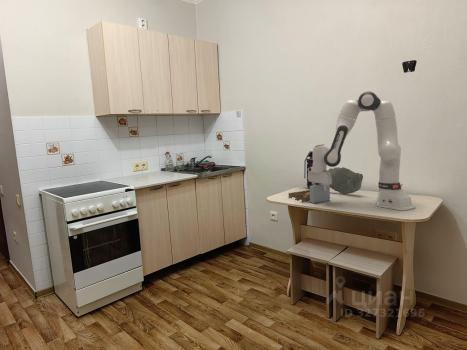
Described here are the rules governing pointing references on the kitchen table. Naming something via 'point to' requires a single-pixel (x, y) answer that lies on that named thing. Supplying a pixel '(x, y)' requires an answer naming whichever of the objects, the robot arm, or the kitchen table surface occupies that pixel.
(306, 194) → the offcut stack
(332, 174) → the rock
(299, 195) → the rack
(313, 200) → the blue-gray rectangular block
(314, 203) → the mat
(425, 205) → the kitchen table surface
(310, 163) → the grenade
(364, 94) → the robot arm
